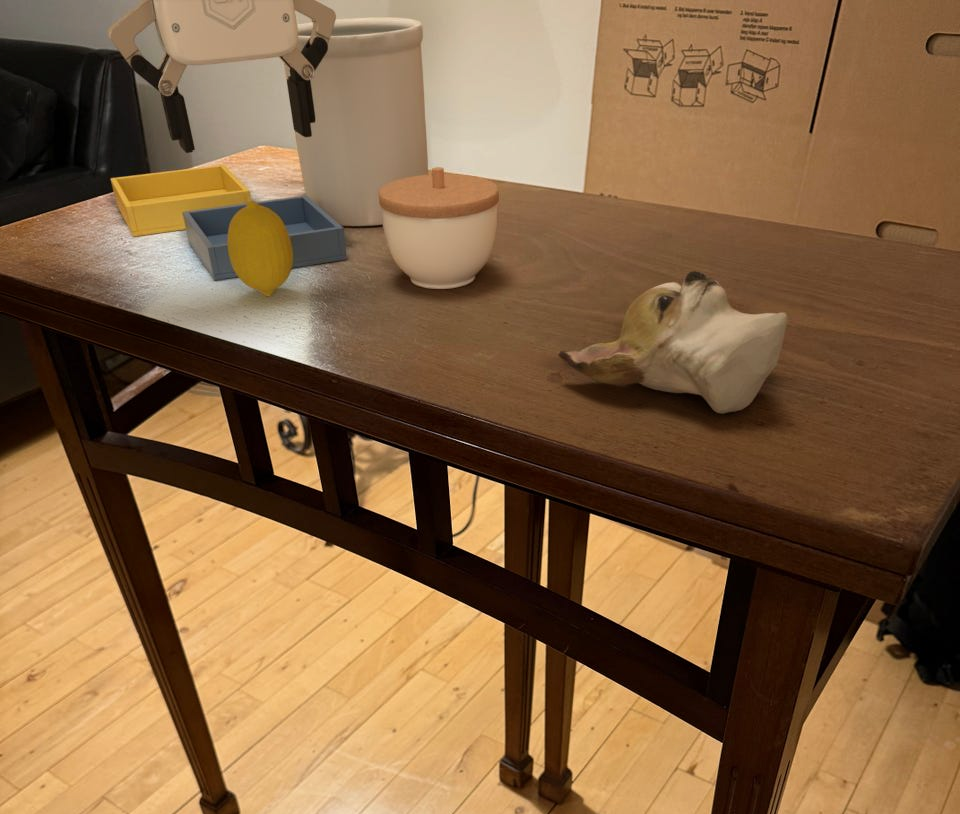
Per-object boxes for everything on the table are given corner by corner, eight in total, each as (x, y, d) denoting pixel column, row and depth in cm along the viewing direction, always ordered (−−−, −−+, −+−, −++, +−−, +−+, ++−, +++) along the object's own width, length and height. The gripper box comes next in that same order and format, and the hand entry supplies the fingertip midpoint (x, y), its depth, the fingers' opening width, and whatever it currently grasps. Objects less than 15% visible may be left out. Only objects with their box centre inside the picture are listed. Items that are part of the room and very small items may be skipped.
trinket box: (362, 281, 85) (350, 171, 79) (439, 252, 91) (434, 148, 85) (446, 307, 80) (441, 191, 74) (522, 274, 86) (523, 165, 80)
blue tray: (214, 280, 86) (207, 247, 84) (188, 242, 95) (182, 211, 93) (347, 259, 90) (343, 227, 88) (310, 224, 99) (306, 195, 97)
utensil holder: (276, 222, 100) (247, 32, 89) (342, 188, 111) (323, 14, 99) (396, 235, 96) (381, 37, 84) (452, 198, 106) (446, 17, 95)
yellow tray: (133, 236, 97) (125, 206, 95) (117, 206, 106) (110, 178, 104) (254, 219, 101) (249, 190, 99) (229, 191, 110) (224, 164, 108)
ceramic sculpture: (747, 312, 54) (550, 273, 62) (730, 447, 59) (552, 394, 67) (830, 268, 60) (641, 238, 68) (808, 394, 65) (635, 351, 73)
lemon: (308, 297, 82) (295, 202, 77) (252, 311, 80) (234, 214, 75) (283, 281, 86) (268, 189, 80) (227, 293, 83) (209, 200, 78)
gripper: (73, -127, 58) (146, 165, 69) (331, -138, 63) (360, 137, 74) (63, -126, 64) (132, 146, 75) (302, -135, 69) (333, 121, 80)
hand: (246, 141), depth 75 cm, fingers open, 9 cm apart
